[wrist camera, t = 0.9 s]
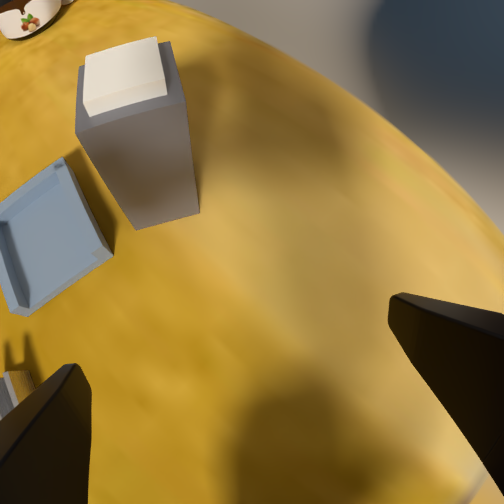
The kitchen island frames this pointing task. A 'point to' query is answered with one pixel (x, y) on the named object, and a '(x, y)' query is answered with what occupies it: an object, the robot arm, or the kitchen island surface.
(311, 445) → the kitchen island surface
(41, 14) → the spread jar
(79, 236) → the holder
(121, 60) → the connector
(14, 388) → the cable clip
